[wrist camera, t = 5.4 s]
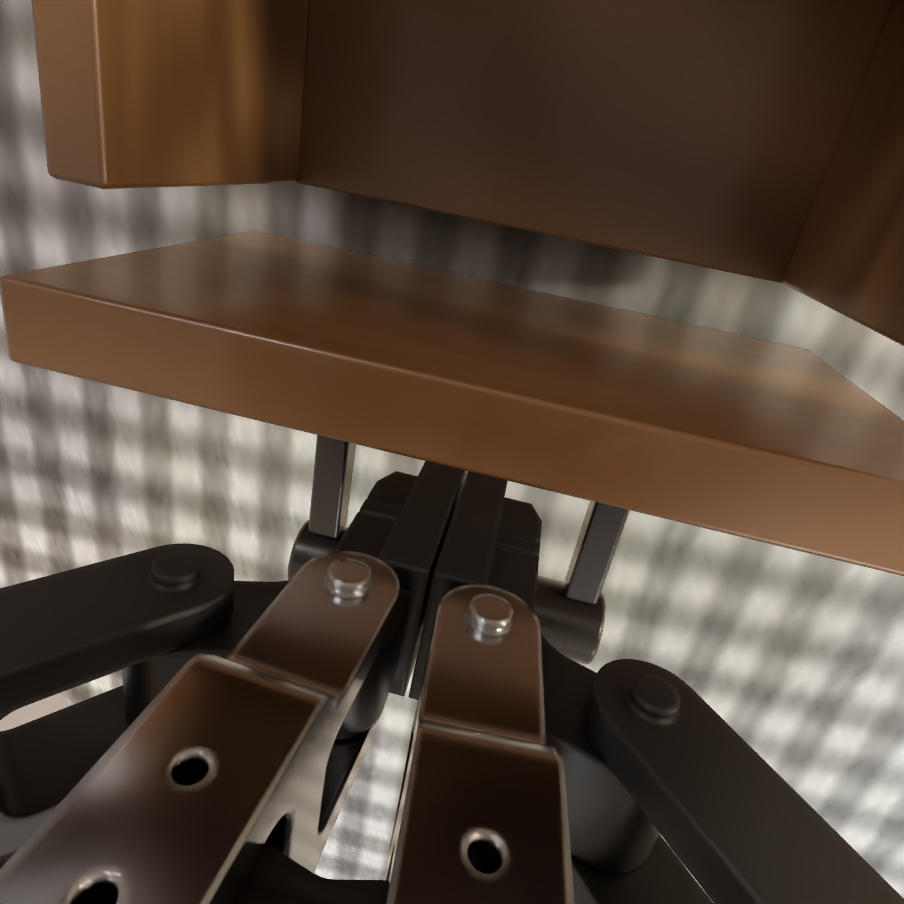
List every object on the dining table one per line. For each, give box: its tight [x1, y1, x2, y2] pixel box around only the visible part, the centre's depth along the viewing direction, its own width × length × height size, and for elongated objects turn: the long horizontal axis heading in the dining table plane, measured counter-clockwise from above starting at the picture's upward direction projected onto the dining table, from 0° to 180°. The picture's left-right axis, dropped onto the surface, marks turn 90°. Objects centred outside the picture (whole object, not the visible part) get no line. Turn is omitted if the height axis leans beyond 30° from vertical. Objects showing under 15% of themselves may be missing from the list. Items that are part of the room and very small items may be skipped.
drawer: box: [0, 0, 904, 664], centre depth 9 cm, size 19×13×7 cm
